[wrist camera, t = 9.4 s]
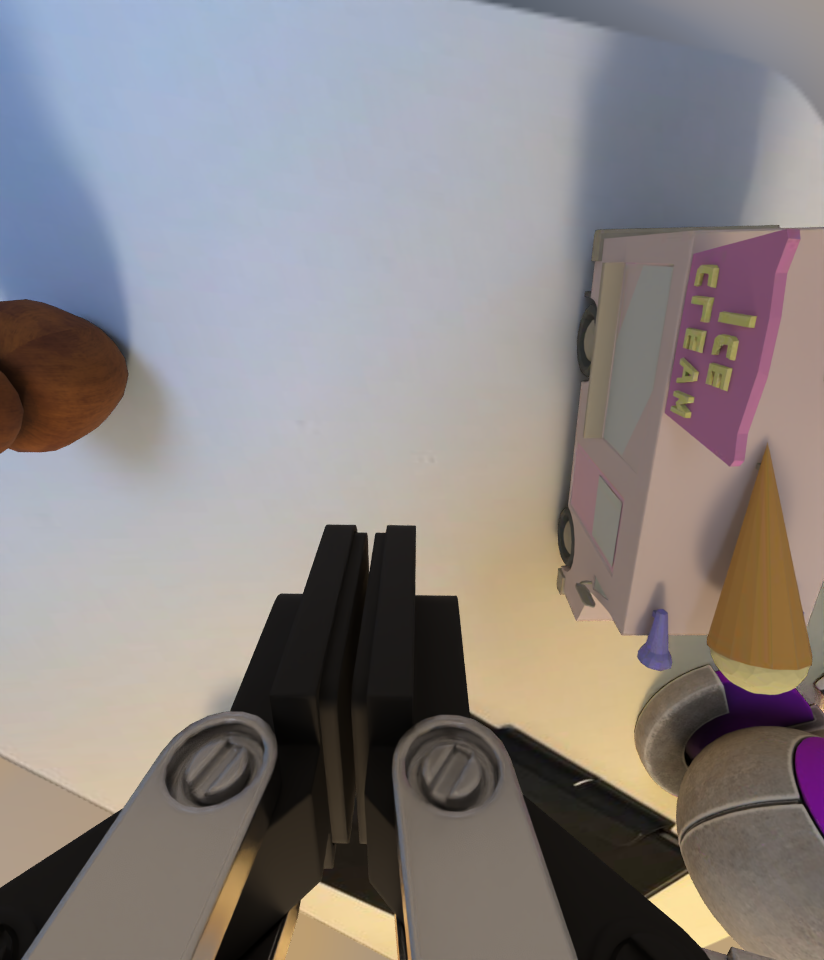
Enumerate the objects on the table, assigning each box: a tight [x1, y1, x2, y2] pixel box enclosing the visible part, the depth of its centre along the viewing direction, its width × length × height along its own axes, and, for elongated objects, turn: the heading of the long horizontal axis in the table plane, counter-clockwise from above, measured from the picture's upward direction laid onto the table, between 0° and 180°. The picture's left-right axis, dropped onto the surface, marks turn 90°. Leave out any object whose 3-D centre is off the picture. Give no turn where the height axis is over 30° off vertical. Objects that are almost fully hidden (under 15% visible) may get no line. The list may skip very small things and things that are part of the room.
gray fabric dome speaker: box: [635, 665, 824, 960], centre depth 31 cm, size 13×13×15 cm
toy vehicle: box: [557, 225, 824, 695], centre depth 22 cm, size 9×20×15 cm, turn 1°
